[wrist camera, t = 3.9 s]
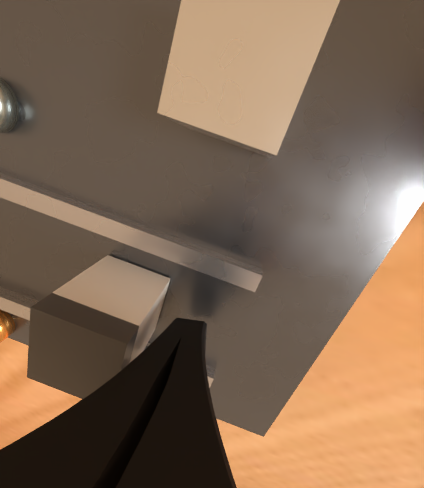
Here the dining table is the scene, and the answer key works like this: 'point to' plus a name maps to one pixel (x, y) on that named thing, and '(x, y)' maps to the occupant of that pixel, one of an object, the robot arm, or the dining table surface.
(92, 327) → the lever
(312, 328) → the panel
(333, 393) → the dining table surface
